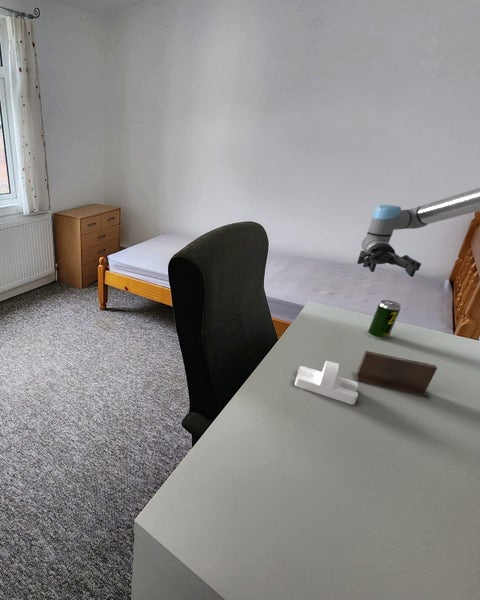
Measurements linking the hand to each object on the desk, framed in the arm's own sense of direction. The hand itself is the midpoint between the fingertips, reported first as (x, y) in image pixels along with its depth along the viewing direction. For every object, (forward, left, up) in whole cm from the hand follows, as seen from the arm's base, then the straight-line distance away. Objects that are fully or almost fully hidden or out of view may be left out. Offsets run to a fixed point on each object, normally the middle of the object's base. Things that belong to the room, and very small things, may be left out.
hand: (393, 270), depth 111 cm
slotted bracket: (+17, +49, -20) cm, 55 cm away
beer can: (0, +10, -20) cm, 22 cm away
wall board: (+2, +39, -20) cm, 43 cm away
